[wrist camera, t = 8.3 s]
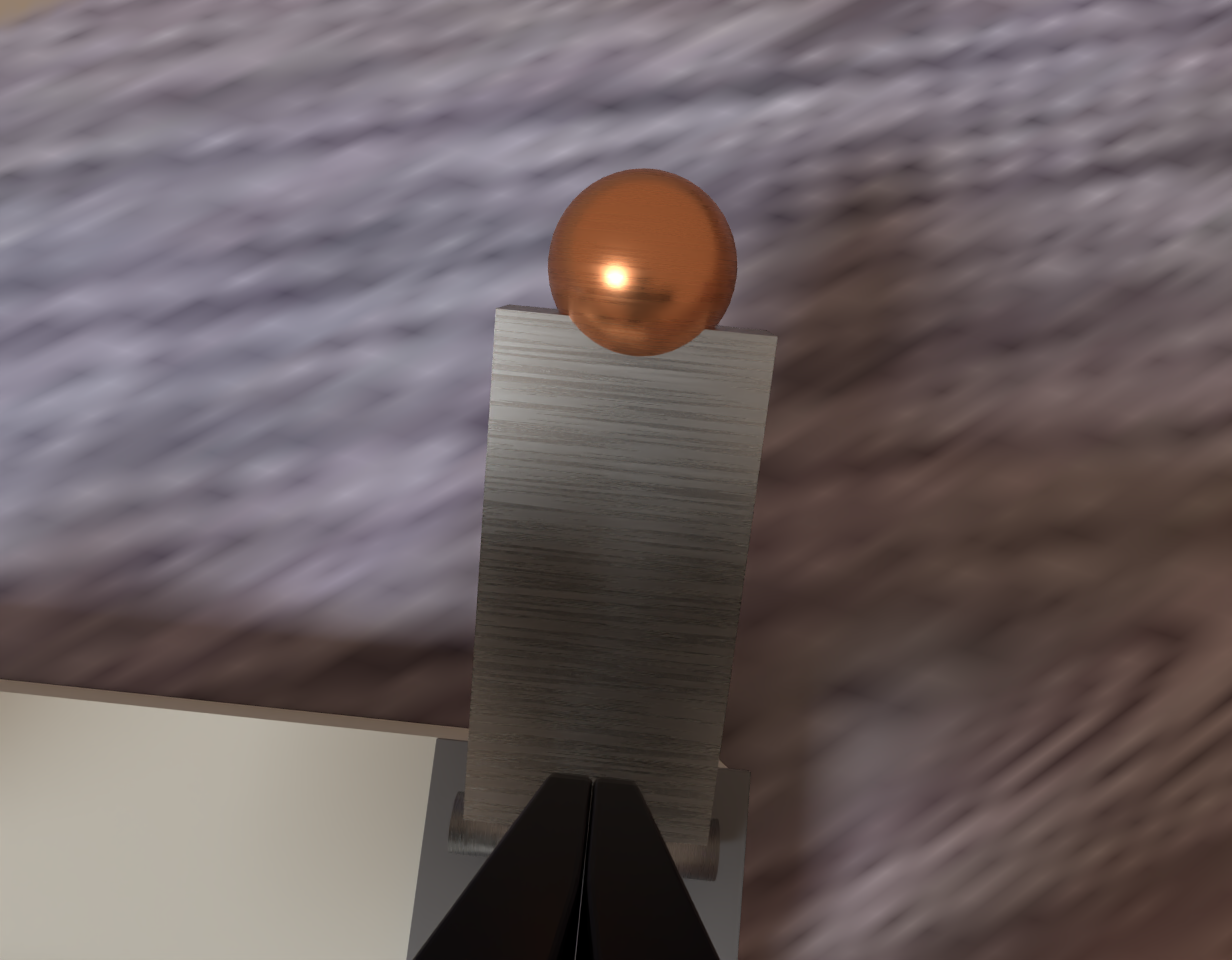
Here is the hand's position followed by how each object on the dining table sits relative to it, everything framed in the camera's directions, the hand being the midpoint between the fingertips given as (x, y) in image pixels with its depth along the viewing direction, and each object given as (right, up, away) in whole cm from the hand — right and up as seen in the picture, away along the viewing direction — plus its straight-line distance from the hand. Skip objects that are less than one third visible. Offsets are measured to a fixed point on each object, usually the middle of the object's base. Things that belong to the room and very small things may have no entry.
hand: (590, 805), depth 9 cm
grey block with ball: (0, -2, +4) cm, 4 cm away
